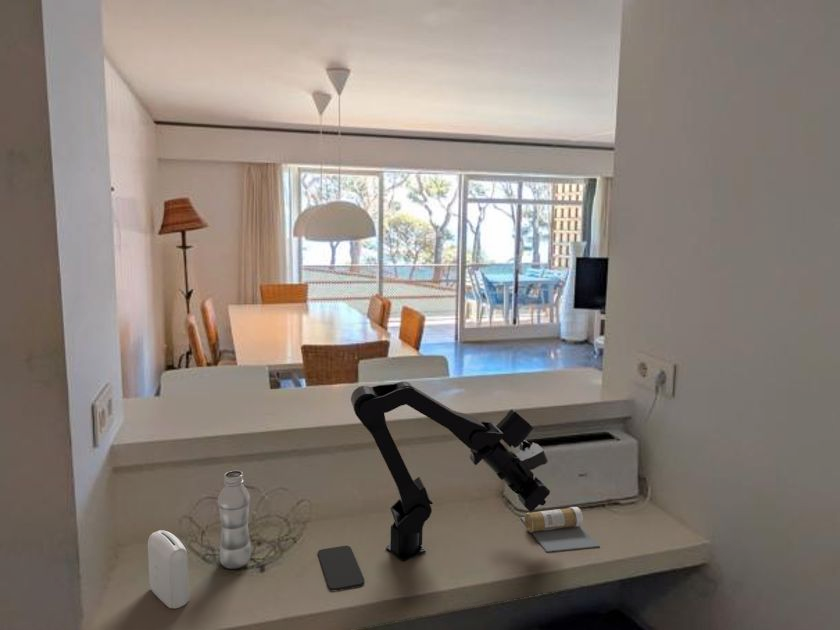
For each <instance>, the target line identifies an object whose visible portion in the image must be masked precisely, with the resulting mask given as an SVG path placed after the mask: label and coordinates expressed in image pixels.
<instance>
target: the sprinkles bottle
mask: <svg viewBox="0 0 840 630" xmlns="http://www.w3.org/2000/svg"><path fill="white" fill-rule="evenodd" d="M524 516H525V524H524V526H525V527H526V530H527V532H529V533H531V532H534V531H545V530H553V529H558V528H566V527H579V526H581V527H582V525H583V523H584V516H583V513H582V510H581V509H580V508H579V507H577V506H570V507H568V508H559V509H551V510H541V511H536V512H535V511H533V512H527V513H525V515H524Z"/></svg>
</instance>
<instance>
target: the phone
mask: <svg viewBox="0 0 840 630" xmlns="http://www.w3.org/2000/svg"><path fill="white" fill-rule="evenodd" d="M317 556H318V560H319V562H320V565H321V568H322V572H323V576H324V578H325V582H326V585H327V588H328V590H329V591H331V590H337V591H342V590H341V589H343V590H346V589H347V588H348V589H353V588H352V587H354V588H359V587H362V586H364V585H365V578H364V575H363V573H362V570H361V568H360V566H359V563H358V562H357V561H358V560H357V559H356V556H355V555H354V552H353V550H352V548H351V546H349V545H341V546H335V547H327V548H323V549H322V548H321V549H319V550H318V551H317ZM363 584H364V585H363ZM361 585H362V586H361ZM358 586H359V587H358Z"/></svg>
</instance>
